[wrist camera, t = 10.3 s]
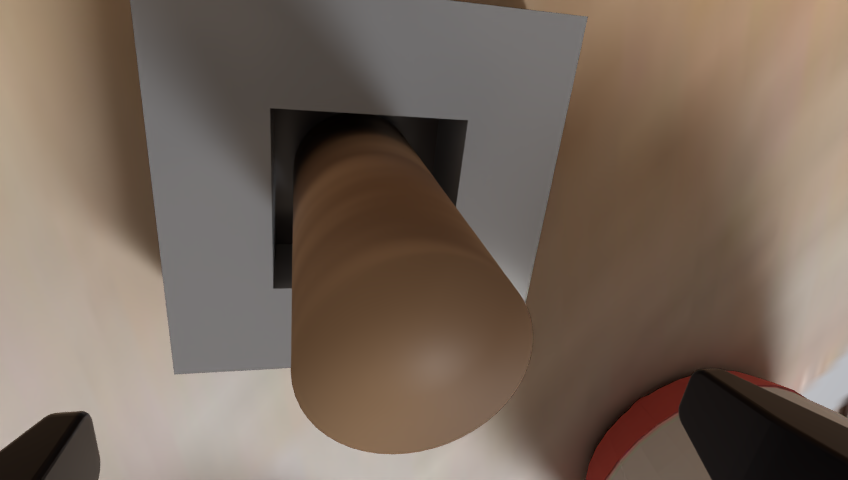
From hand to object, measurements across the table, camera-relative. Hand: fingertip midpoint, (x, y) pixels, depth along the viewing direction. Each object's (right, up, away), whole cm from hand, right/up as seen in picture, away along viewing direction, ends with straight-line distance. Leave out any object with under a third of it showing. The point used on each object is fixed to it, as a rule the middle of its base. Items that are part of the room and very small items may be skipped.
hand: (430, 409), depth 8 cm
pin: (-2, +5, +10) cm, 11 cm away
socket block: (-3, +5, +10) cm, 12 cm away
